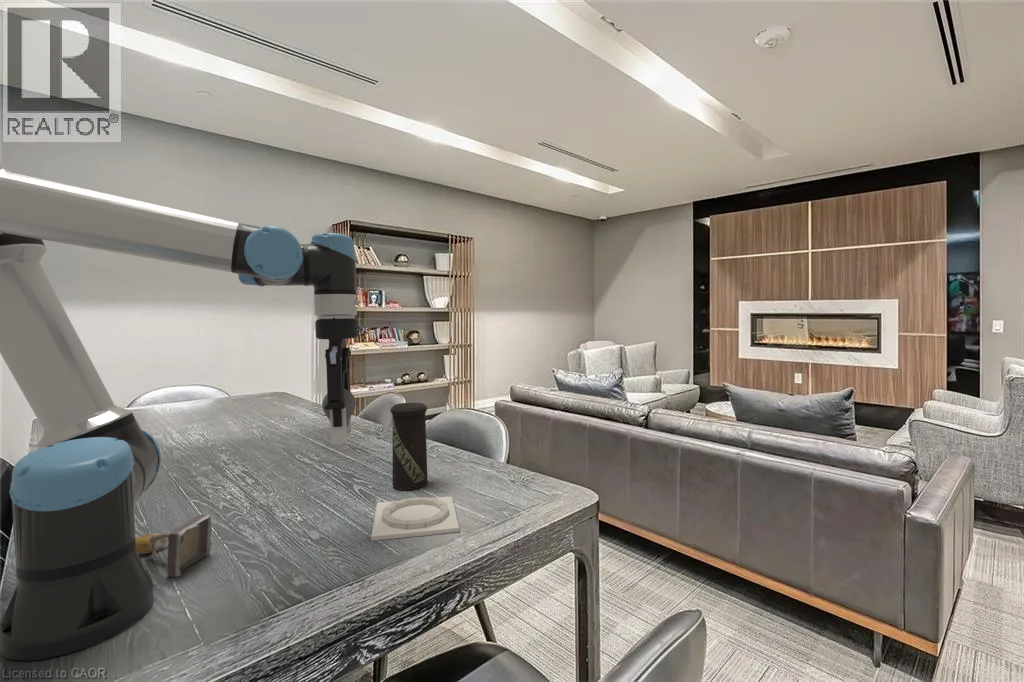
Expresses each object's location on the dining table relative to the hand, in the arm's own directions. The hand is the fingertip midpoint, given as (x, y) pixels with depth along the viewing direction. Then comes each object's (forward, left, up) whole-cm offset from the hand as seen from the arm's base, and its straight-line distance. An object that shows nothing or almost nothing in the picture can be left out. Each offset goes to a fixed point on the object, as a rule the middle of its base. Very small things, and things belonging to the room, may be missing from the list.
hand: (341, 438), depth 89 cm
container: (+21, -13, -18) cm, 31 cm away
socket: (+1, -14, -17) cm, 22 cm away
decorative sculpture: (-4, +27, -18) cm, 33 cm away
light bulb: (0, 0, 0) cm, 1 cm away
